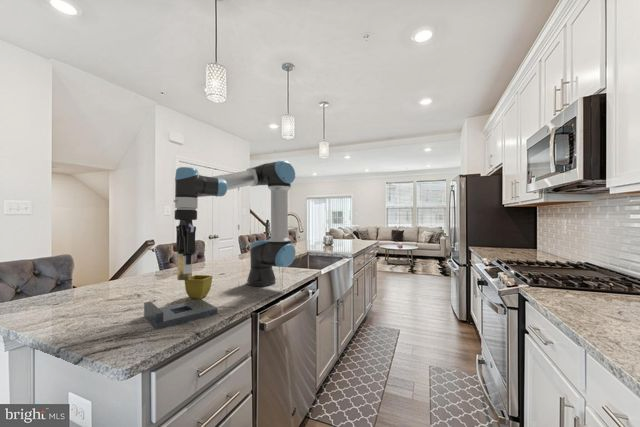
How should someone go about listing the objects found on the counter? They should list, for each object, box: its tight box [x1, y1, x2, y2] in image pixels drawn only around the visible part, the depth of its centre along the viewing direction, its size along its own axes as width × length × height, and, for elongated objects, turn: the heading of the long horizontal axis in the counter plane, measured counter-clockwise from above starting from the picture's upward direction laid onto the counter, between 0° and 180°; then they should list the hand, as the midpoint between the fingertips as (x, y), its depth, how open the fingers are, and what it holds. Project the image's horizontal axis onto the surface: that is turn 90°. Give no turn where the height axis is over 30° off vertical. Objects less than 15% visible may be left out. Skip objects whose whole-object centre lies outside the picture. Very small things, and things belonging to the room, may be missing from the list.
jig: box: [143, 298, 219, 331], centre depth 97 cm, size 20×16×5 cm
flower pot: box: [184, 274, 213, 300], centre depth 119 cm, size 9×9×9 cm
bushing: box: [176, 256, 193, 281], centre depth 98 cm, size 5×5×8 cm
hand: (184, 272), depth 98 cm, fingers closed on bushing, 5 cm apart
